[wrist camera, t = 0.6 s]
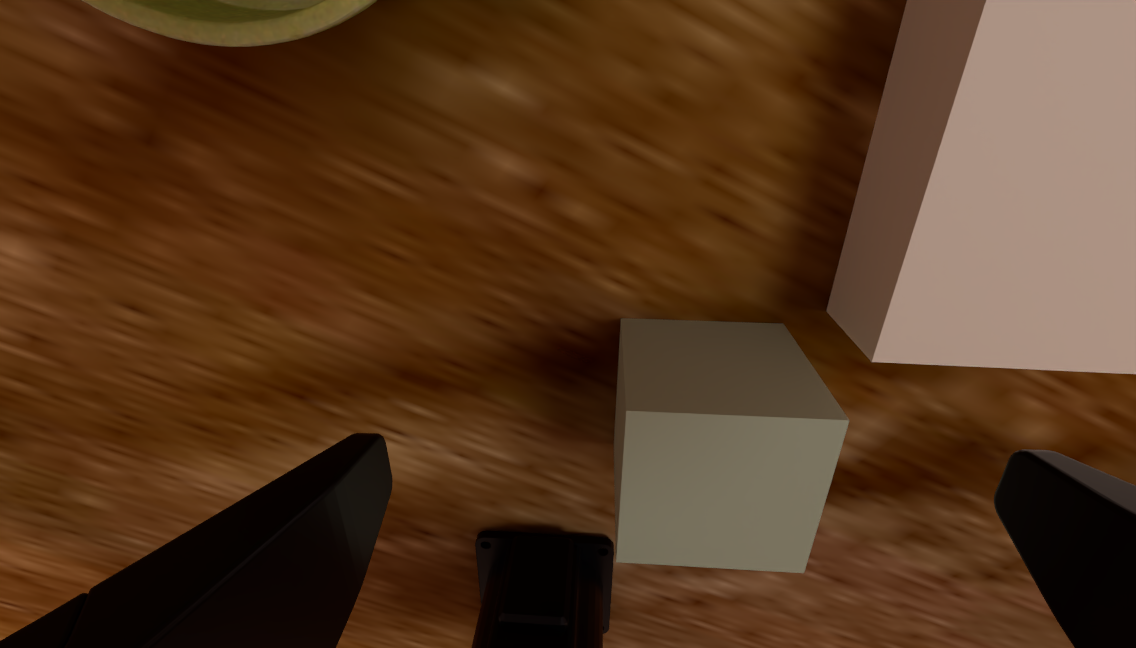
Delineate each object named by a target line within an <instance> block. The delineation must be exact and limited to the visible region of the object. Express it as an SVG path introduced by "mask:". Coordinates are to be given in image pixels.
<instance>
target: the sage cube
mask: <svg viewBox="0 0 1136 648" xmlns="http://www.w3.org/2000/svg"><path fill="white" fill-rule="evenodd" d="M848 424H849V419H848V418H847V416H846V415H845V413H844V412H843V410H842V409H841V407H840V406H839V404H838V403H837V401H836V400H835V398H834V397H833V396H832V394H831V393H830V391H829V390H828V388H827V387H826V385H825V384H824V382H823V381H822V379H821V378H820V377H819V375H818V374H817V372H816V371H815V369H814V368H813V366H812V365H811V363H810V362H809V360H808V359H807V358H806V356H805V355H804V353H803V352H802V350H801V349H800V347H799V346H798V344H797V343H796V341H795V340H794V339H793V337H792V336H791V334H790V333H789V331H788V330H787V328H786V327H785V325H784V324H778V323H748V322H718V321H689V320H659V319H629V318H621V324H620V342H619V360H618V378H617V395H616V413H615V431H614V483H615V532H616V562H623V563H640V564H657V565H674V566H691V567H708V568H725V569H742V570H759V571H776V572H793V573H804V571H805V568H806V565H807V561H808V558H809V555H810V551H811V548H812V544H813V541H814V538H815V534H816V531H817V528H818V524H819V521H820V518H821V514H822V511H823V507H824V504H825V501H826V497H827V494H828V491H829V487H830V484H831V481H832V477H833V474H834V471H835V467H836V464H837V460H838V457H839V454H840V450H841V447H842V444H843V440H844V437H845V434H846V430H847V427H848Z"/></svg>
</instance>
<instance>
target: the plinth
mask: <svg viewBox="0 0 1136 648" xmlns="http://www.w3.org/2000/svg"><path fill="white" fill-rule="evenodd" d="M826 312H827V313H828V314H829V315H830V316H831V317H832V318H833V319H834V320H835V322H836V323H837V324H838V325H839V326H840V327H841V328H842V329H843V330H844V332H845V333H846V334H847V335H848V336H849V337H850V338H851V339H852V340H853V342H854V343H855V344H856V345H857V346H858V347H859V348H860V349H861V350H862V352H863V353H864V354H865V355H866V356H867V357H868V358H869V359H870V360H871V362H885V363H907V364H928V365H950V366H971V367H993V368H1015V369H1036V370H1058V371H1079V372H1101V373H1123V374H1136V0H907V3H906V6H905V10H904V14H903V18H902V22H901V26H900V29H899V33H898V37H897V41H896V45H895V49H894V53H893V56H892V60H891V64H890V68H889V72H888V76H887V79H886V83H885V87H884V91H883V95H882V99H881V103H880V106H879V110H878V114H877V118H876V122H875V126H874V129H873V133H872V137H871V141H870V145H869V149H868V152H867V156H866V160H865V164H864V168H863V172H862V176H861V179H860V183H859V187H858V191H857V195H856V199H855V202H854V206H853V210H852V214H851V218H850V222H849V226H848V229H847V233H846V237H845V241H844V245H843V249H842V252H841V256H840V260H839V264H838V268H837V272H836V275H835V279H834V283H833V287H832V291H831V295H830V299H829V302H828V306H827V310H826Z"/></svg>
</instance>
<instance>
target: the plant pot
mask: <svg viewBox="0 0 1136 648" xmlns="http://www.w3.org/2000/svg"><path fill="white" fill-rule="evenodd" d="M82 1H84V2H86V3H88V4H89V5H91V6H93V7H94V8H96V9H98V10H100V11H102V12H104V13H106V14H108V15H110V16H112V17H115V18H117V19H119V20H122V21H124V22H126V23H129V24H131V25H134V26H136V27H139V28H142V29H145V30H148V31H151V32H154V33H157V34H160V35H164V36H167V37H170V38H174V39H178V40H183V41H187V42H192V43H198V44H205V45H213V46H228V47H250V46H262V45H271V44H277V43H283V42H288V41H293V40H297V39H301V38H305V37H308V36H311V35H314V34H316V33H319V32H322V31H324V30H327V29H329V28H331V27H334V26H336V25H338V24H340V23H342V22H344V21H346V20H348V19H350V18H352V17H354V16H355V15H357V14H358V13H360V12H362V11H363V10H365V9H367V8H368V7H369V6H371V5H372V4H373V3H374V2H376V1H377V0H82Z"/></svg>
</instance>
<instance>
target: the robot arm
mask: <svg viewBox="0 0 1136 648" xmlns="http://www.w3.org/2000/svg"><path fill="white" fill-rule="evenodd" d="M391 490H392V473H391V468H390V463H389V457H388V452H387V447H386V442H385V440H384V438H383V436H381V435H380V434H375V433H355V434H352V435H350V436H348V437H347V438H345V439H343V440H342V441H340V442H338V443H337V444H335V445H333V446H332V447H330V448H328V449H326V450H325V451H323V452H321V453H320V454H318V455H316V456H315V457H313V458H311V459H309V460H308V461H306V462H304V463H303V464H301V465H299V466H298V467H296V468H294V469H292V470H291V471H289V472H287V473H286V474H284V475H282V476H281V477H279V478H277V479H276V480H274V481H272V482H270V483H269V484H267V485H265V486H264V487H262V488H260V489H259V490H257V491H255V492H253V493H252V494H250V495H248V496H247V497H245V498H243V499H242V500H240V501H238V502H236V503H235V504H233V505H231V506H230V507H228V508H226V509H225V510H223V511H221V512H219V513H218V514H216V515H214V516H213V517H211V518H209V519H208V520H206V521H204V522H203V523H201V524H199V525H197V526H196V527H194V528H192V529H191V530H189V531H187V532H186V533H184V534H182V535H180V536H179V537H177V538H175V539H174V540H172V541H170V542H169V543H167V544H165V545H163V546H162V547H160V548H158V549H157V550H155V551H153V552H152V553H150V554H148V555H146V556H145V557H143V558H141V559H140V560H138V561H136V562H135V563H133V564H131V565H129V566H128V567H126V568H124V569H123V570H121V571H119V572H118V573H116V574H114V575H113V576H111V577H109V578H107V579H106V580H104V581H102V582H101V583H99V584H97V585H96V586H94V587H92V588H91V589H90V591H89V593H88V594H87V593H82V594H80V595H78V596H77V597H75V598H73V599H72V600H70V601H68V602H66V603H65V604H63V605H61V606H60V607H58V608H56V609H55V610H53V611H51V612H50V613H48V614H46V615H45V616H43V617H41V618H39V619H38V620H36V621H34V622H32V623H31V624H29V625H27V626H25V627H24V628H22V629H20V630H18V631H17V632H15V633H13V634H11V635H10V636H8V637H6V638H5V639H3V640H1V641H0V648H336V646H337V644H338V641H339V639H340V637H341V634H342V632H343V630H344V627H345V625H346V623H347V621H348V618H349V616H350V614H351V611H352V609H353V607H354V604H355V602H356V599H357V597H358V594H359V592H360V589H361V586H362V583H363V580H364V578H365V575H366V572H367V568H368V565H369V562H370V559H371V556H372V552H373V549H374V546H375V543H376V540H377V536H378V533H379V530H380V527H381V524H382V520H383V517H384V514H385V511H386V508H387V504H388V501H389V498H390V495H391ZM994 505H995V509H996V512H997V514H998V516H999V518H1000V520H1001V521H1002V523H1003V525H1004V527H1005V529H1006V530H1007V532H1008V534H1009V536H1010V538H1011V539H1012V541H1013V543H1014V545H1015V547H1016V548H1017V550H1018V552H1019V554H1020V556H1021V557H1022V559H1023V561H1024V563H1025V565H1026V567H1027V568H1028V570H1029V572H1030V574H1031V576H1032V577H1033V579H1034V581H1035V583H1036V585H1037V586H1038V588H1039V590H1040V592H1041V594H1042V595H1043V597H1044V599H1045V601H1046V602H1047V604H1048V606H1049V608H1050V609H1051V611H1052V613H1053V614H1054V616H1055V618H1056V620H1057V621H1058V623H1059V624H1060V626H1061V627H1062V629H1063V631H1064V632H1065V634H1066V635H1067V637H1068V638H1069V640H1070V641H1071V643H1072V644H1073V646H1074V647H1075V648H1136V486H1135V485H1132V484H1130V483H1128V482H1125V481H1123V480H1121V479H1118V478H1116V477H1114V476H1111V475H1109V474H1106V473H1104V472H1102V471H1099V470H1097V469H1095V468H1092V467H1090V466H1088V465H1085V464H1083V463H1080V462H1078V461H1076V460H1073V459H1071V458H1069V457H1066V456H1064V455H1062V454H1059V453H1057V452H1054V451H1049V450H1019V451H1016V452H1015V453H1013V454H1012V455H1011V457H1010V458H1009V460H1008V463H1007V465H1006V468H1005V470H1004V473H1003V475H1002V477H1001V480H1000V482H999V485H998V487H997V489H996V492H995V495H994ZM485 541H487V542H485ZM475 546H476V556H477V566H478V576H479V586H480V596H481V609H480V613H479V617H478V622H477V626H476V630H475V635H474V639H473V643H472V648H603V634H604V633H606V632H607V631H608V630H609V619H610V603H611V588H612V572H613V556H614V545H613V542H612V541H611V540H610V539H608V538H604V537H588V536H570V535H553V534H535V533H517V532H500V531H482V532H480V533H479V534H478V536H477V539H476V544H475ZM601 548H605V549H601Z"/></svg>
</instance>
